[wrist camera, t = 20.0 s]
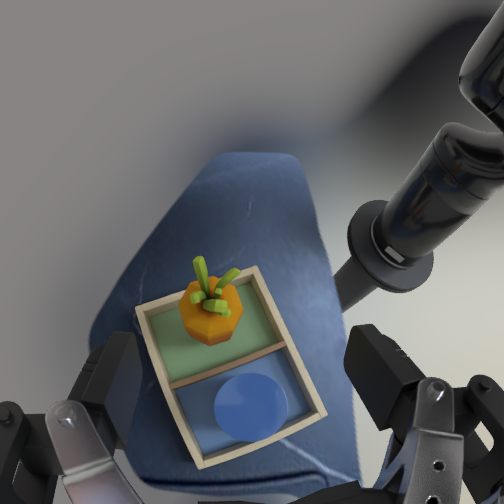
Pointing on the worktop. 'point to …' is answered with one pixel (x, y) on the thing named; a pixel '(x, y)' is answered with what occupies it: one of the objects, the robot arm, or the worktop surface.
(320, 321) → the worktop surface
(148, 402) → the worktop surface
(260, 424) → the blue cylinder
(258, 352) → the sorting tray
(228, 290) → the carrot
